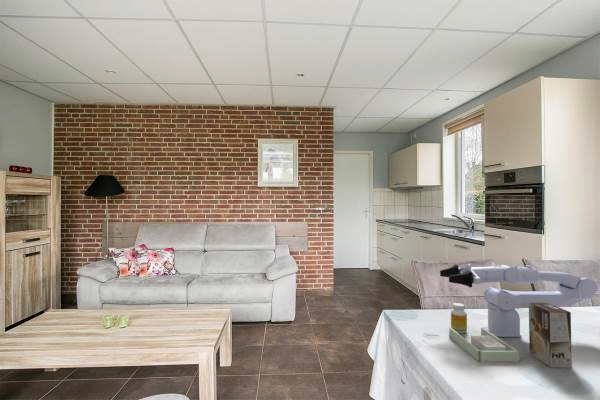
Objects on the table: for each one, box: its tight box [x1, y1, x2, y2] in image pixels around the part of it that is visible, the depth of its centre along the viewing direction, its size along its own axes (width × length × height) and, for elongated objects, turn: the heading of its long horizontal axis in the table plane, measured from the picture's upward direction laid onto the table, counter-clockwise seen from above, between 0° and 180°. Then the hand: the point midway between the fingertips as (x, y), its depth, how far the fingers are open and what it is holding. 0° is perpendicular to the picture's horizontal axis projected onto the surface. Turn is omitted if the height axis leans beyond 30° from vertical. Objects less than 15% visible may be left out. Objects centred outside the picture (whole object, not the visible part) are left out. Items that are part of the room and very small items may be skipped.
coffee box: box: [528, 303, 573, 369], centre depth 93 cm, size 9×6×16 cm
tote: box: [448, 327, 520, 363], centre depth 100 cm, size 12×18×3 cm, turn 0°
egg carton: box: [470, 335, 506, 351], centre depth 97 cm, size 6×8×5 cm
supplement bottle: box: [450, 302, 468, 334], centre depth 114 cm, size 5×5×10 cm
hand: (444, 276), depth 114 cm, fingers open, 7 cm apart
